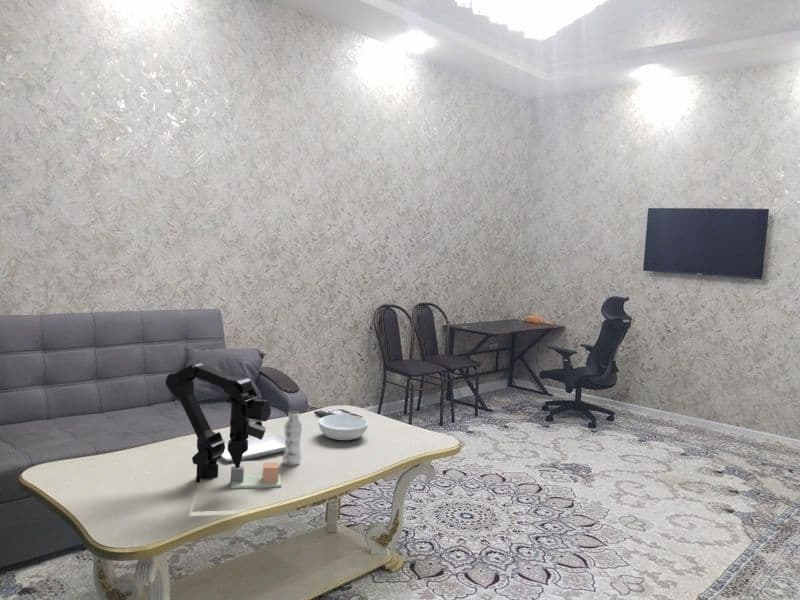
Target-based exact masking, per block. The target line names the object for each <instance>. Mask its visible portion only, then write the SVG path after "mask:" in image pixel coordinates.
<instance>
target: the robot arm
mask: <svg viewBox="0 0 800 600" xmlns="http://www.w3.org/2000/svg"><path fill="white" fill-rule="evenodd" d="M165 379H166V380H165V385H166V388H167V389H168V391H169V392H170V393H171V395H173V396H174V397H175V398H176V399H178V400H179V401H180V405H182V407H183V410H184V412H185V415H186V416H187V418H188V420H189V423H190V424H191V426H192V427H191V428H192V429H193V431H194V433H195V435H196V438H197V439H196V449H197V451H198V452H197V453H195V454H194V455H193V456H192V457H191V461H192V464H193V465H196V478H195V483H200V482H201V480H211V479H215V478H218V477H219V466H220V465H219V463H218V460H221V459H222V458H221V456H222V454H223V453H224V450H225V444H224V443H225V442H226V441H225V440H224V439H223V437H222V434H221V432H220V431H218V432H214V431H213V430H212V428H211V426H210V425H209V423H208V420H207V419H206V416H205V414H204V411H203V410H202V408H201V406H200V404H199V401H198V400H197V397H196V395H195V393H194V389H195V382H194V381H195V380H196V379H200V380H202V381H204V382H207V383H209V384H212V385H214V386H216V387H219V388H220V389H222V391H223V392H224V393H225V394H227V395H228V397H227V398H226V399H225V400H224V402H225V403H230V417H229V419H230V420H229V425H230V426H229V438H230V439H229V440H228V441H227V442H228V452H229V453H230V455H231V458H232V460H233V462H232V463H233V464H234V467H236V468H239V467H240V466H241V462H242V461H241V459H242V455H243V453H244V452H246V451H247V450H248V440H247V438H249V436H250V437H256V438H258V439H260V440H262V438H263V436H264V434H266V427H265V426H264V425H263V422H267V421H268V420H269V419H270V417H271V413H272V412H271V411H272V409H271V406H270V404H269V403H268V399H259V398H260V397H259V395H258V394H257V391H256V390H255V388H254V386H253V383H252V382H251V379H250V378H248V377H243V376H239V375H229V374H227V373H224V372H221V371H219V370H217V369H214V368H212V367H210V366H207V365H204V364H203V363H201V362H198V363H197V362H196V363H192V364H189V365H188V366H186V367H185V368H183V369H181V370H179V371H177V372H176V371H175V372H172V373H169V374H168V375H167V376H166V378H165ZM250 420H252V421H253V420H254V421H255V422H250Z"/></svg>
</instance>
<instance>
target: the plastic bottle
mask: <svg viewBox="0 0 800 600" xmlns="http://www.w3.org/2000/svg"><path fill="white" fill-rule="evenodd" d="M287 418H288V420H287V421H286V422H285V424H284V426H283V430H284V436H285V450H284V451H283V452H284V453H283V456H282V463H283V465H284V466H288V467H295V466H299V465H300V464H301V461H302V454H301V444H300V443H301V435H302V430H303V426H302V423H301V421H300V420H299V418H300V413H299V411H295V410H292V411H289V412H288V417H287Z"/></svg>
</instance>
